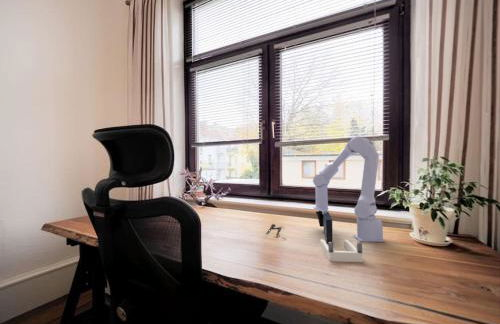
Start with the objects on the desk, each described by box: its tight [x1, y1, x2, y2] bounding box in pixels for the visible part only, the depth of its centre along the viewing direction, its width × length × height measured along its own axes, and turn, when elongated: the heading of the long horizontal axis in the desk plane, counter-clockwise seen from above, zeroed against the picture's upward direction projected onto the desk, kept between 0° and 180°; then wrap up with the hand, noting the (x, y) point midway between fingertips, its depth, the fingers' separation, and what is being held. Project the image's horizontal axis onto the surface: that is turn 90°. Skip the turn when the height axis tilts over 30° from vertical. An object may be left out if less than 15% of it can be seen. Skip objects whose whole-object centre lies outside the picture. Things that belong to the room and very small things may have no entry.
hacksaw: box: [265, 223, 287, 241], centre depth 111 cm, size 24×10×2 cm, turn 164°
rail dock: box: [320, 238, 363, 263], centre depth 83 cm, size 11×15×6 cm
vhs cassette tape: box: [323, 211, 334, 245], centre depth 102 cm, size 18×3×10 cm, turn 164°
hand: (322, 226), depth 114 cm, fingers closed
